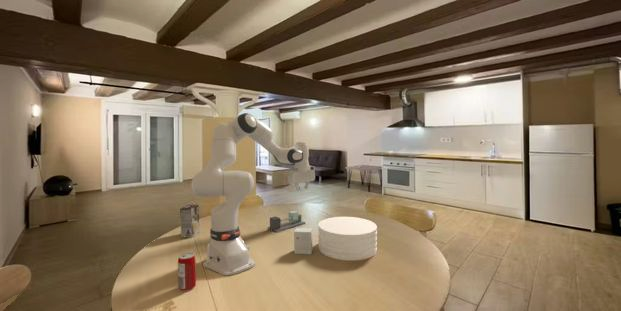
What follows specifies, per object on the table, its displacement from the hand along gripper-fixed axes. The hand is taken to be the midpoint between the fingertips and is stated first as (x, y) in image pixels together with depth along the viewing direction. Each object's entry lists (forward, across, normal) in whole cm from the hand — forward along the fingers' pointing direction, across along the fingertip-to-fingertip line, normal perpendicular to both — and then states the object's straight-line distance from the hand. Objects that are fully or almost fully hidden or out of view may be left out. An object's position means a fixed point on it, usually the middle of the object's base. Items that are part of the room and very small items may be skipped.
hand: (302, 189), depth 168 cm
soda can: (+21, -80, -29) cm, 88 cm away
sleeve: (+19, -7, 0) cm, 20 cm away
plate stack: (+22, -12, -46) cm, 52 cm away
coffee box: (+21, -60, +26) cm, 69 cm away
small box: (+21, -30, -35) cm, 51 cm away
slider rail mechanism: (+21, -12, 0) cm, 25 cm away
